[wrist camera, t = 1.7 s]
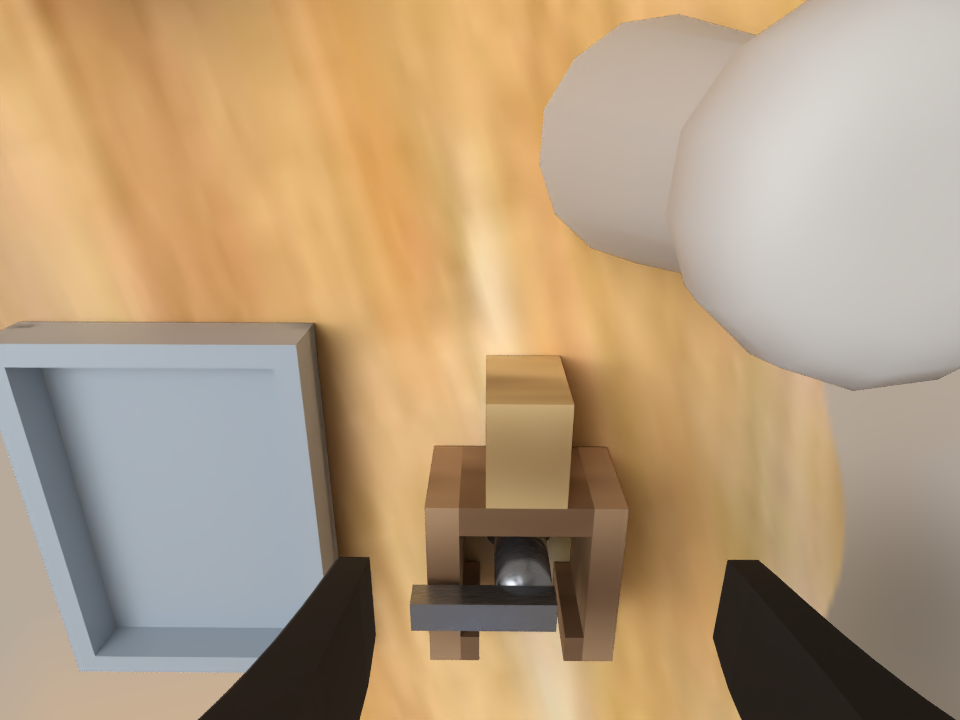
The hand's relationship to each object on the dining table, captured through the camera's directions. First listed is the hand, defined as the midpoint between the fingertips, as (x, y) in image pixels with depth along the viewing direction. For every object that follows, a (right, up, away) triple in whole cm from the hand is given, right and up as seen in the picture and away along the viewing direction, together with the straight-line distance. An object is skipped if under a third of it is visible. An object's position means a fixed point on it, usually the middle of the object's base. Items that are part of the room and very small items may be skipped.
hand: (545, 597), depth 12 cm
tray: (-11, 0, +10) cm, 15 cm away
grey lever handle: (-1, -1, +10) cm, 10 cm away
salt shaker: (+3, +11, +5) cm, 13 cm away
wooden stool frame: (0, +1, +9) cm, 9 cm away
